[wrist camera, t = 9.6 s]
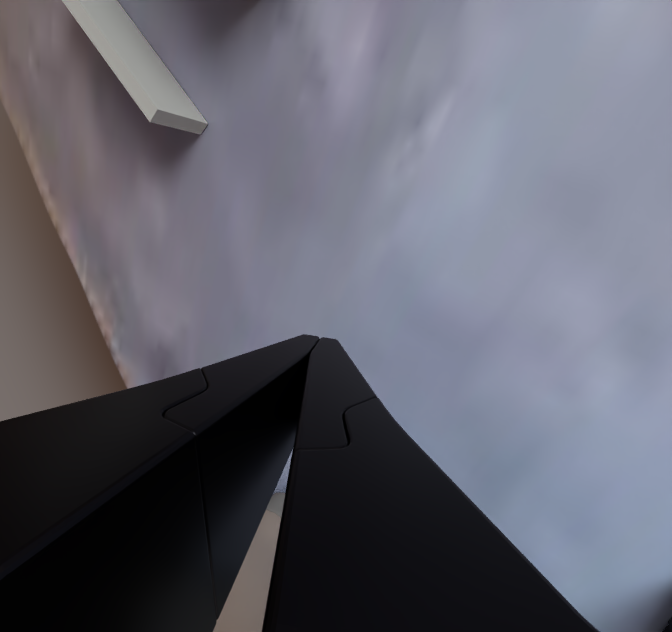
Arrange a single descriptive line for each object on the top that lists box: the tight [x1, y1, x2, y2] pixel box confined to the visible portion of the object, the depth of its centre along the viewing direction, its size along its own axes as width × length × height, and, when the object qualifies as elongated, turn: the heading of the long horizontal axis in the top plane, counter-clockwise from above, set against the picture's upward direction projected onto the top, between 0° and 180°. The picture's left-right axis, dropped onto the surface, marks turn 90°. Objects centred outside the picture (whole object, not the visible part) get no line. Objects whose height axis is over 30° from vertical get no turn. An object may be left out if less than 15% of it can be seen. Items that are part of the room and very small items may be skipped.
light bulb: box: [213, 492, 285, 632], centre depth 21 cm, size 7×7×11 cm
